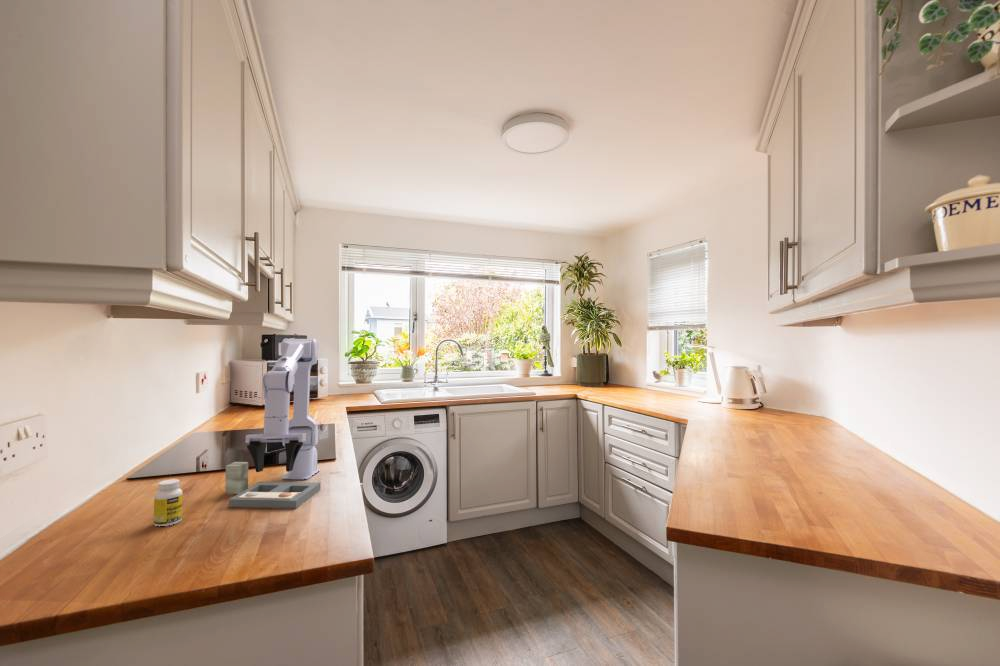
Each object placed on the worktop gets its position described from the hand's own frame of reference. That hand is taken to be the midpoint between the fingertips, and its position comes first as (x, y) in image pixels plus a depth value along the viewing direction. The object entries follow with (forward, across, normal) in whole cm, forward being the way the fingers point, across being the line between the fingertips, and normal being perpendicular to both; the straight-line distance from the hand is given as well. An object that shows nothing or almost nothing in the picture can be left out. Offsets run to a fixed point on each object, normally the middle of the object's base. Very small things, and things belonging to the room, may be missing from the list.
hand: (274, 471), depth 111 cm
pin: (+8, -18, +15) cm, 25 cm away
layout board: (+9, -4, +10) cm, 14 cm away
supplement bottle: (+11, -22, -6) cm, 25 cm away
